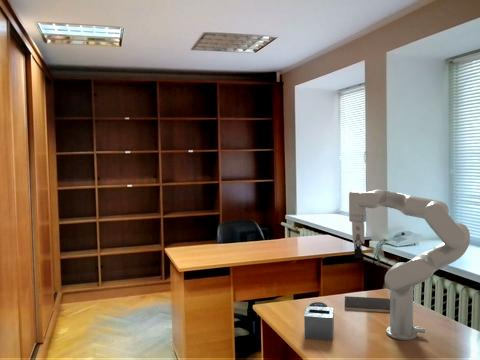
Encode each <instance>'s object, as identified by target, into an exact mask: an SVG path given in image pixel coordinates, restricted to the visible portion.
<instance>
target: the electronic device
mask: <svg viewBox="0 0 480 360" xmlns="http://www.w3.org/2000/svg"><path fill="white" fill-rule="evenodd" d="M308 306H316V307H328V305H327V304H326V303H324V302H321V301H316V302H311V303H310V304H309V305H308Z"/></svg>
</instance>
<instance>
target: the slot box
mask: <svg viewBox="0 0 480 360" xmlns="http://www.w3.org/2000/svg"><path fill="white" fill-rule="evenodd" d="M334 308H335V307H329V306H327V307H316V306H309V305H306V309H305V312H304V315H303V319H304V322H303V323H304V325H303V327H304V339H306V340H307V339H310V340H321V341H332V342H333V341H334V333H335V331H334V330H335V317H334V315H335V313H334V312H335V311H334V310H335V309H334Z"/></svg>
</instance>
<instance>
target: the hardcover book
mask: <svg viewBox="0 0 480 360" xmlns="http://www.w3.org/2000/svg"><path fill="white" fill-rule="evenodd" d="M344 310H346V311H360V312H362V311H363V312H375V313H376V312H377V313H379V312H380V313H390V298H384V297H369V296H368V297H367V296H351V295H350V296H348V295H345V296H344Z"/></svg>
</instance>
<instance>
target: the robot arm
mask: <svg viewBox="0 0 480 360" xmlns="http://www.w3.org/2000/svg"><path fill="white" fill-rule="evenodd" d="M379 207H383V208H384V207H385V208H389V209H394V210H397V211H398V212H400V213H402V214H403V215H404V216H407V217H413V218H418V219H424V220H425V222H426V224H427V225H428V226H429V227H430V229H431V230H432V231H433V232H434V233H435V234H436V236H437V237H438V238H439V239H440V241H441V242H442V243H440V244H438V245H436V246H434V247H433V248H430V249H427V250H426V251H423V252H421V253H418V254H416V255H415V256H413V258H411V260H407V262H403V261H402V262H401V261H400V262H397V263H395V264H393V265H392V266H391V267H390V268H389V269H388V270H387V272H386V274H385V275H384V283H385V285H386V286H387V288H388V289H389V299H390V312H389V326H388V327H387V328H386V329H385V331H386V334H387V336H389V337H391V338H393V339H396V340H400V341H411V340H414V339H417V337H418V333H421V334H425V333H426V329H425V327H422V326H421V325H420V326H419V325H414V286H418V285H420V284H421V283H423V282H425V281H427V280H429V279H431V278H432V276H433V274H434V273H435V272H436V271H438V270H440V269H442V268H444V267H446V266H449V265H451V264H453V263H455V262H456V261H457V260H459V259H461V258H462V256H464V255H465V253H466V252H467V250H468V248H469V246H470V241H471V240H470V239H471V234H470V233H471V232H470V230H469V228H468V227H467V226H466V225H465V224H463V223H462V222H455V221H454V220H453V218H452V217H451V216H450V215H449V207H448V205H447V204H446V203H445V202H444V201H440V200H437V199H436V200H435V199H430V198H424V197H419V196H413V195H408V194H404V193H400V192H395V191H391V190H385V189H374V190H371V191H364V190H351V191H349V193H348V221H349V222H351V233H352V242H353V244H354V246H353V247H354V248H353V249H354V250H353V251H354V256H353V257H354V259H355V258H359V259H361V258H363V248H362V244H363V245H364V244H365V223H366V222H367V208H368V209H378V208H379Z"/></svg>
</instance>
